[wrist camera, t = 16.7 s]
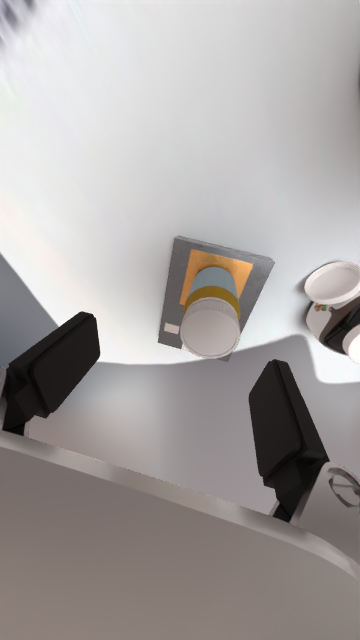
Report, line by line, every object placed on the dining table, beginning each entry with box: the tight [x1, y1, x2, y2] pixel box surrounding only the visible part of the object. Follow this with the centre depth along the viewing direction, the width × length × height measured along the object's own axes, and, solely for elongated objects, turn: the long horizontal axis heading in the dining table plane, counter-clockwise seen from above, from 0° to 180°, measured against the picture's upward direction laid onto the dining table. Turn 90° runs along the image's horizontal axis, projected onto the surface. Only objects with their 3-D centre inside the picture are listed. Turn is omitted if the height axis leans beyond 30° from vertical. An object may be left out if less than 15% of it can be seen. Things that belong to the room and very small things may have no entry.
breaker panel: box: [158, 236, 275, 362], centre depth 35 cm, size 16×22×4 cm
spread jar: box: [304, 262, 360, 364], centre depth 27 cm, size 12×11×12 cm
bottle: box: [180, 266, 240, 359], centre depth 25 cm, size 7×7×15 cm
